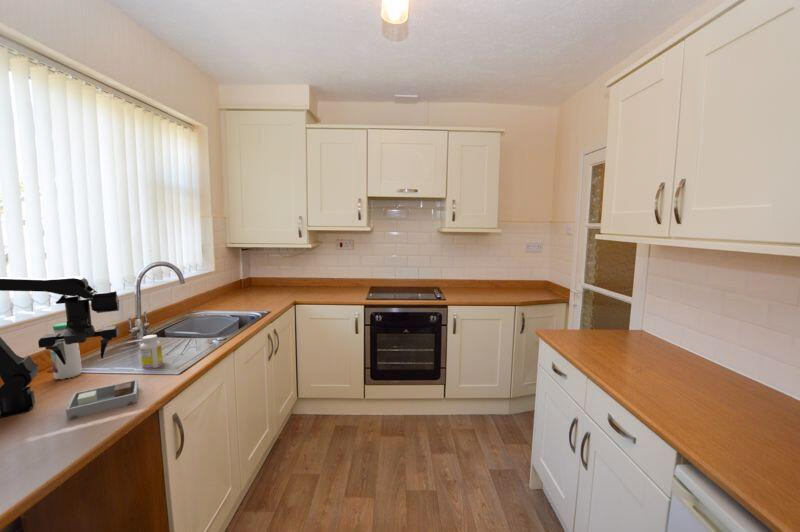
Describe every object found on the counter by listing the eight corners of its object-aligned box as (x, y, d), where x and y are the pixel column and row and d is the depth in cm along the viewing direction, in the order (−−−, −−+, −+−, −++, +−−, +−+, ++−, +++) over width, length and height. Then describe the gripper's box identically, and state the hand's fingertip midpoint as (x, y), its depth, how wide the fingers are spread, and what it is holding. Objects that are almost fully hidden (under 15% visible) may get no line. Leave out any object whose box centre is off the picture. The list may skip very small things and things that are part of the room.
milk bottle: (86, 369, 135) (80, 320, 132) (76, 378, 128) (69, 326, 125) (61, 373, 132) (54, 322, 129) (49, 381, 125) (41, 328, 122)
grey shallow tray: (67, 422, 99) (65, 410, 98) (75, 403, 109) (74, 392, 109) (137, 405, 108) (135, 394, 107) (138, 388, 119) (137, 378, 118)
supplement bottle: (160, 362, 141) (157, 332, 140) (165, 367, 137) (162, 335, 135) (140, 368, 136) (136, 336, 134) (145, 372, 132) (142, 340, 130)
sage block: (78, 411, 103) (77, 399, 103) (80, 406, 106) (79, 394, 106) (96, 407, 105) (95, 395, 105) (97, 402, 109) (96, 390, 108)
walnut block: (115, 402, 108) (114, 390, 108) (116, 397, 112) (115, 385, 111) (131, 398, 111) (130, 386, 110) (132, 393, 114) (130, 382, 113)
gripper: (28, 325, 100) (35, 377, 102) (111, 316, 110) (116, 363, 112) (41, 317, 109) (47, 364, 111) (117, 309, 119) (121, 352, 121)
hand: (84, 361), depth 113 cm, fingers open, 9 cm apart
